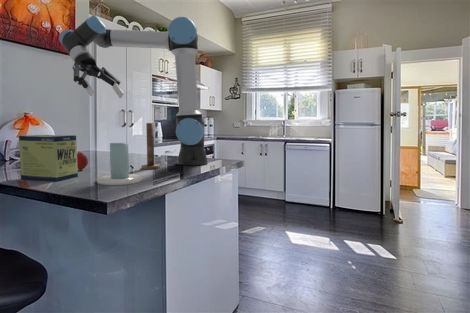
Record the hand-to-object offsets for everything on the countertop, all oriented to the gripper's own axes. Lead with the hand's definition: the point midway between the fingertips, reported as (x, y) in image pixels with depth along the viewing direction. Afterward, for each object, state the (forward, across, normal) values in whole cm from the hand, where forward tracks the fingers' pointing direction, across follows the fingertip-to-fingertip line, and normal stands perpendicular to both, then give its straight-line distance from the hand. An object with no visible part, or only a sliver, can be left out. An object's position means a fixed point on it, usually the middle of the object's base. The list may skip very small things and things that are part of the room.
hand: (107, 94), depth 126 cm
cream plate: (+36, +11, -8) cm, 38 cm away
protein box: (+18, +21, -26) cm, 38 cm away
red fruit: (+12, +4, -32) cm, 35 cm away
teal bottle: (+35, +11, -8) cm, 37 cm away
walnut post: (+26, -17, -18) cm, 36 cm away
